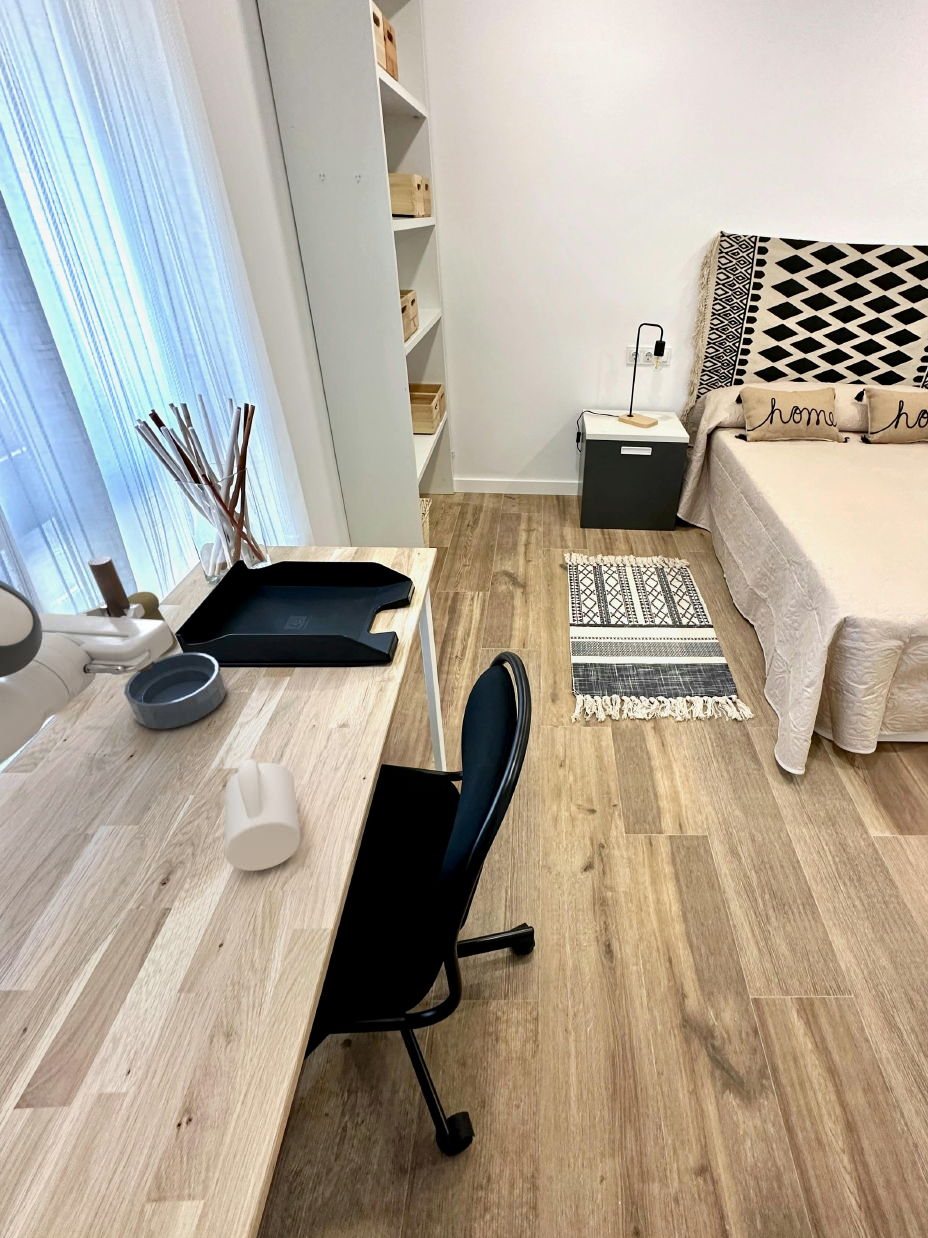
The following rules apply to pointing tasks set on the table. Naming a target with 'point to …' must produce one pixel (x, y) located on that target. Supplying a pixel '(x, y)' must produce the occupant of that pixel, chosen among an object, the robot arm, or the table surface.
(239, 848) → the mug
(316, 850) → the table surface
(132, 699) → the bowl
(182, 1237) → the table surface
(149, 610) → the pepper mill
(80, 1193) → the table surface
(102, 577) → the brown cylindrical rod
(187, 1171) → the table surface
